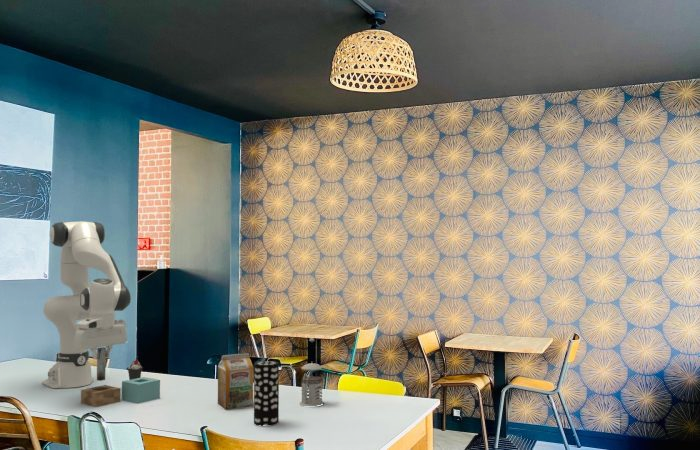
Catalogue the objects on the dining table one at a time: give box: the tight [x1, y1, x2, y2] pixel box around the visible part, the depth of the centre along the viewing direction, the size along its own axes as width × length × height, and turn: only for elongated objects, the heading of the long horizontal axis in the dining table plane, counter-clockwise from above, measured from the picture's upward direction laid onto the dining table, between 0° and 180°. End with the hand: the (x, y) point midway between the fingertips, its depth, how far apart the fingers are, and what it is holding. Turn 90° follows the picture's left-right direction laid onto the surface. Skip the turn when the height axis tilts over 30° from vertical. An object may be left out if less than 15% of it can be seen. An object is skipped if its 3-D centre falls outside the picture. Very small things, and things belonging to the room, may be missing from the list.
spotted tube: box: [253, 360, 280, 427], centre depth 207 cm, size 8×8×20 cm
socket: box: [80, 384, 122, 408], centre depth 231 cm, size 10×10×6 cm
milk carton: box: [217, 352, 254, 411], centre depth 231 cm, size 11×11×19 cm
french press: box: [298, 337, 325, 407], centre depth 232 cm, size 10×12×25 cm
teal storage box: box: [121, 376, 161, 404], centre depth 236 cm, size 10×10×8 cm
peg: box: [96, 346, 107, 381], centre depth 231 cm, size 3×3×12 cm
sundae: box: [125, 356, 144, 380], centre depth 251 cm, size 7×7×15 cm
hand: (101, 358), depth 231 cm, fingers closed on peg, 3 cm apart
